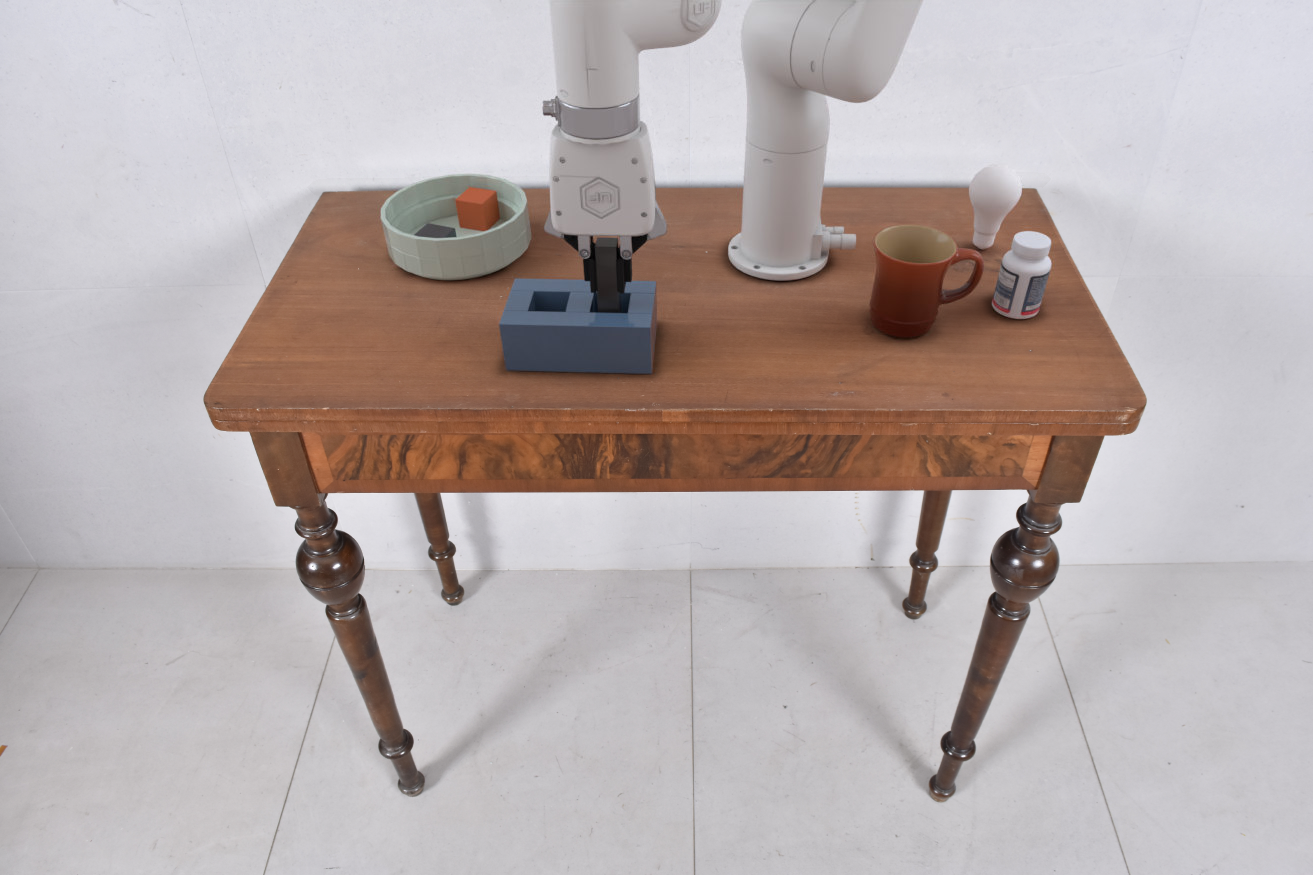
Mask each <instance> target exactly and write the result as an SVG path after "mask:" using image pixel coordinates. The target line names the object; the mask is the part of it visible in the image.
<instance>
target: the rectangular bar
mask: <svg viewBox="0 0 1313 875" xmlns="http://www.w3.org/2000/svg"><path fill="white" fill-rule="evenodd" d="M619 245H620V240H619V237H607V236H596V241H595V260H596V272H597V290H598V291H597V298H598V313H621V293H619V292H617V275H616V260H617V257H618V250H619Z"/></svg>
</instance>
